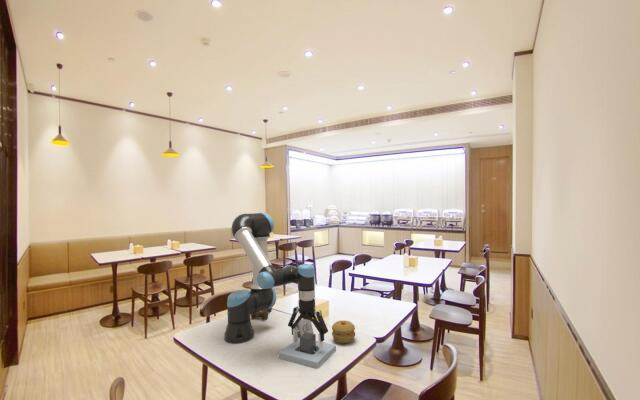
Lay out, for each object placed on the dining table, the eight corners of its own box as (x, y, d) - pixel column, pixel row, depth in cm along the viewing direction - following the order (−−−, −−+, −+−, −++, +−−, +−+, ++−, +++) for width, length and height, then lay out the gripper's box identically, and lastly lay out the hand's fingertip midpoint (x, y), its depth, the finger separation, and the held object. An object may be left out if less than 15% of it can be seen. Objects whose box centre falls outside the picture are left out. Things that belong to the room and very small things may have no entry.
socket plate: (278, 358, 139) (278, 352, 139) (300, 342, 154) (300, 337, 154) (317, 368, 129) (317, 362, 129) (336, 350, 145) (335, 345, 145)
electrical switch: (302, 340, 156) (300, 321, 157) (294, 338, 160) (293, 320, 160) (314, 334, 164) (312, 316, 164) (306, 332, 167) (305, 315, 168)
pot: (339, 348, 147) (338, 327, 147) (328, 338, 158) (327, 319, 158) (359, 343, 152) (359, 322, 152) (347, 334, 163) (347, 315, 163)
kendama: (275, 312, 199) (262, 323, 180) (262, 312, 202) (247, 322, 182) (275, 303, 200) (262, 313, 180) (261, 302, 202) (247, 312, 183)
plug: (300, 355, 140) (299, 337, 140) (306, 350, 146) (306, 332, 146) (309, 358, 138) (309, 339, 138) (315, 352, 143) (315, 334, 143)
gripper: (280, 297, 145) (280, 342, 144) (327, 304, 133) (328, 354, 133) (289, 293, 151) (289, 336, 151) (334, 299, 139) (335, 347, 139)
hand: (307, 345), depth 142 cm, fingers open, 13 cm apart
